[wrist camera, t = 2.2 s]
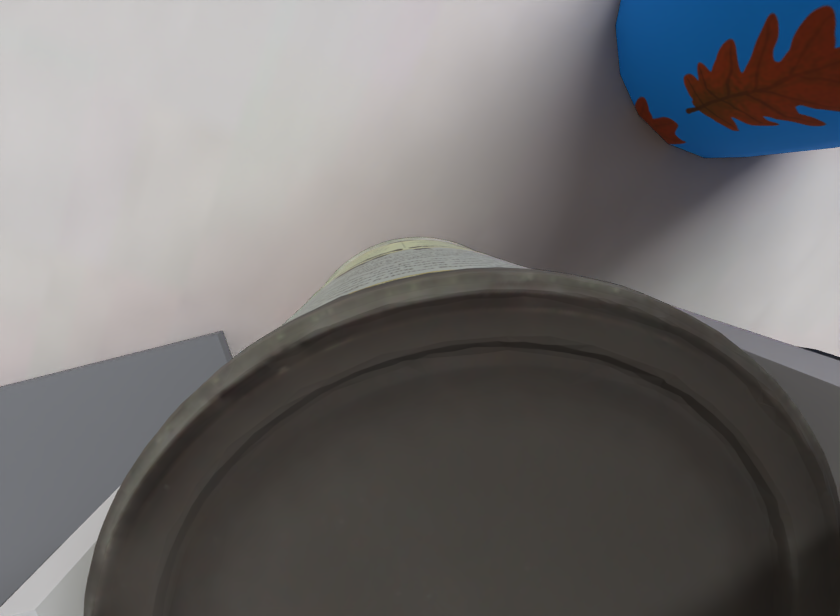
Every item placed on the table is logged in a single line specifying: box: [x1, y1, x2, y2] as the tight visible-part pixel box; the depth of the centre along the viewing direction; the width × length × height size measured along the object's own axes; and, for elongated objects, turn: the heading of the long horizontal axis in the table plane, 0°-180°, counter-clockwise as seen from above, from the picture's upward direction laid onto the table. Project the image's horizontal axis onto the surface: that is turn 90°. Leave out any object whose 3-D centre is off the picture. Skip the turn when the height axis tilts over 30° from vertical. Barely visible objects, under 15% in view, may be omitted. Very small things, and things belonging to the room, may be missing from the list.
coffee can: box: [83, 237, 840, 616], centre depth 13 cm, size 10×10×14 cm
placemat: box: [0, 331, 232, 606], centre depth 20 cm, size 16×18×1 cm
